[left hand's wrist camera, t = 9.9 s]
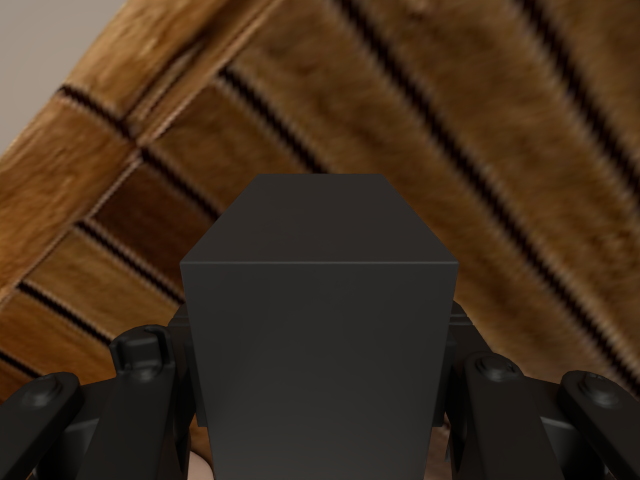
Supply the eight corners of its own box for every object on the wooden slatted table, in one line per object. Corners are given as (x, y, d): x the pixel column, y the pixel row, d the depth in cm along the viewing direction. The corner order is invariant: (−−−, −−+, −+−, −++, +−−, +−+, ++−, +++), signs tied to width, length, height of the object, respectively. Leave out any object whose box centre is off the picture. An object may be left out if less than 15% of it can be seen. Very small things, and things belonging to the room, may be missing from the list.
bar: (257, 173, 14) (178, 262, 6) (382, 173, 14) (459, 262, 6) (280, 519, 22) (259, 744, 14) (359, 519, 22) (380, 744, 14)
